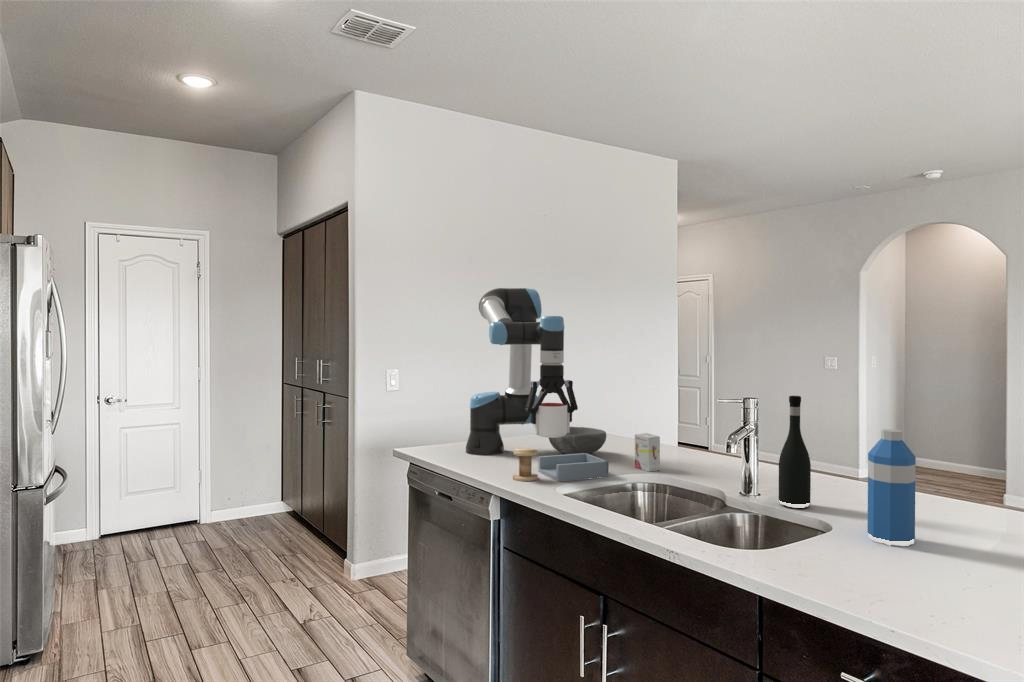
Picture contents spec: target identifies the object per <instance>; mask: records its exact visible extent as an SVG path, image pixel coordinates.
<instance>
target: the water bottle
mask: <svg viewBox="0 0 1024 682" xmlns="http://www.w3.org/2000/svg"><path fill="white" fill-rule="evenodd" d="M880 433H881V434H880V439H878V441H877V442H876V443H875V445H874V446H873V447H872V448H871V449H870V450H869V452H868V453H867V532H868V533H869V534H871V535H872V536H873V537H876V538H881V539H885V540H889V541H910V540H912V539H915V540H916V535H915V534H916V460H917V458H916V455H915V454H914V452H912V450H911V449H910V447H908V446H907V444H906V443H905V442H904V440H903V431H902V430H900V429H899V430H898V429H893V428H892V429H887V428H884V429H881V430H880Z"/></svg>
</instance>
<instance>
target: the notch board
mask: <svg viewBox="0 0 1024 682" xmlns="http://www.w3.org/2000/svg"><path fill="white" fill-rule="evenodd" d="M537 459H538V463H537V465H538V468H537V470H538V473H539V474H542V475H544V476H546V477H548V478H550V479H552V480H554V481H555V482H558V483H560V482H573V481H581V480H583V481H584V480H590V479H589V478H596V479H600V478H599V477H607V478H609V475H610V474H609V467H610V466H609V463H610V462H609V461H608V460H606V459H603V458H600V457H597V456H595V455H592V454H587V453H579V454H556V455H555V454H554V455H541V456H540V455H539V456H537ZM597 477H598V478H597Z"/></svg>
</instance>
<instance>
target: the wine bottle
mask: <svg viewBox="0 0 1024 682" xmlns="http://www.w3.org/2000/svg"><path fill="white" fill-rule="evenodd" d="M788 402H789V429H788V434H787V437H786V440H785V441H784V444H783V447H782V450H781V452H780V455H779V458H778V459H779V460H778V501H779V500H780V501H782V502H786V503H791V504H806V503H810V504H811V488H812V487H811V484H812V483H811V481H812V478H811V477H812V475H811V467H812V465H811V459H810V454H809V451H808V449H807V446H806V444H805V441H804V438H803V436H802V432H801V404H802V396H801V395H789V396H788Z"/></svg>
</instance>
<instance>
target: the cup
mask: <svg viewBox="0 0 1024 682" xmlns="http://www.w3.org/2000/svg"><path fill="white" fill-rule="evenodd" d="M537 414H539V435H538V437H542V438H548V439H549V438H557V437H563V436H565V435H566V434H567V404H566V405H563V403H562V402H561V403H560V402H542V404H541V405H540V406H539V409H538V411H537Z"/></svg>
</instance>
